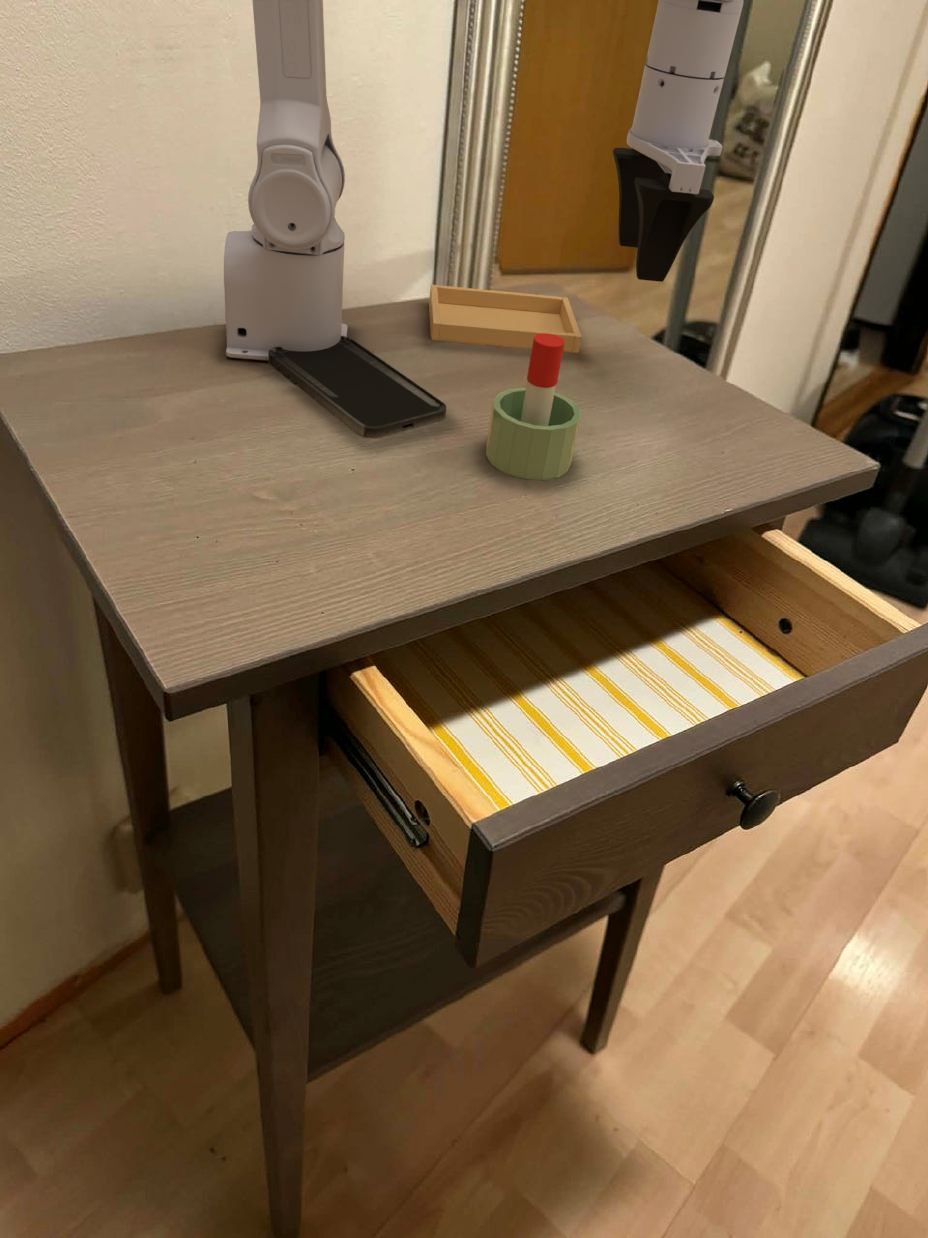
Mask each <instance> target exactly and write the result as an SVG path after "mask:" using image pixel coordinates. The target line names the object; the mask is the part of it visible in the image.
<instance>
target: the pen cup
mask: <svg viewBox="0 0 928 1238" xmlns="http://www.w3.org/2000/svg"><path fill="white" fill-rule="evenodd" d="M525 391H526V386H525V387H524V386H521V387H513V388H508V389H506V390H503V391H501V392H498V393H497V394H496V396H495V397H494V398H493V400H492V404H491V411H490V417H489V424H488V430H487V438H486V445H485V455H486V458H487V461H488V462H489V463H490V464H491V465H492V466H493V467H494V468H495V469H497V470H498V471H499V472H501V473H503V474H506V475H508V476H510V477H513V478H514V477H515V478H517V479H522V480H527V481H528V480H529V481H549V480H553V479H558V478H559V477H562V476H563V475H565V474H566V473H567V472H568V471H569V470H570V467H571V466H572V463H573V456H574V452H575V447H576V443H577V438H578V434H579V429H580V424H581V420H582V413H581V410H580V407H579V406H578V405H577V403H575V402H574V401H573V400H572V399H570V398H569V397H567V396H565V395H563V394H561V393H558V392H556V391H555V393H554V398H553V403H552V408H551V414H550V419H549V424H548V426H540V425H532V424H528V423H525V422H521V415H522V409H523V403H524V397H525Z"/></svg>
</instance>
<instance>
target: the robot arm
mask: <svg viewBox="0 0 928 1238" xmlns="http://www.w3.org/2000/svg"><path fill="white" fill-rule="evenodd" d="M656 6H657V7H656V12H655V16H654V21H653V26H652V31H651V35H650V39H649V40H650V41H649V45H648V48H647V55H646V59H645V64H644V67H643V73H642V78H641V81H640V82H641V83H640V88H639V93H638V97H637V102H636V106H635V112H634V116H633V121H632V126H631V127H630V129H629V130H628V133H627V136H626V144H627V146H629V147H630V148H628V147H614V148H613V150H612V153H613V154H612V155H613V159H614V163H615V167H616V174H617V181H618V193H619V194H618V197H619V198H618V200H619V201H618V206H619V207H618V227H617V228H618V232H617V233H618V244H619V246H620V247H628V248H637V249H636V258H635V259H636V260H635V271H636V272H635V273H636V275H635V276H636V278H637V279H638V280H640V281H649V282H660V283H663V282H664V281H665V279H666V277H667V276H668V274H669V272H670V271H671V268H672V267H673V264H674V262H675V261H676V258H677V256H678V254H679V252H680V250H681V248H682V246H683V244H684V243H685V240H686V239H687V237H688V236H689V234H690V233H691V231H692V230H693V228H694V227H695V225H696V223H698V221H699V220H700V219H701V217H702V216H703V215H704V214H705V213H707V211H708V210H710V208H711V207H712V204H713V202H714V199H715V194H713V193H712V192H711V190H710V189H704V188H703V189H702V188H701V186H702V182H703V179H704V174H705V170H706V167H707V166H706V164H705V161H706V159H707V157H708V156H712V157H713V156H714V157H720V156H721V154H722V150H723V144H721V142H719V141H718V140H716V139H710V135H711V131H712V127H713V123H714V120H715V116H716V112H717V107H718V103H719V101H720V100H719V99H720V96H721V92H722V88H723V84H724V81H725V76H726V74H727V69H728V66H729V61H730V57H731V55H732V54H731V53H732V49H733V45H734V42H735V38H736V34H737V30H738V27H739V22H740V19H741V15H742V11H743V7H744V0H658V2H657V5H656ZM252 11H253V13H252V14H253V24H254V35H255V36H254V38H255V50H256V62H257V63H256V64H257V76H258V77H257V78H258V89H259V101H260V104H259V114H258V125H257V132H256V133H257V135H256V153H257V165H256V170H255V174H254V176H253V179H252V181H251V183H250V186H249V189H248V196H247V205H248V211H249V215H250V218H251V220H252V222H253V224H252V225H251V230H231V231H228V232H227V235H226V238H225V244H224V253H223V289H224V291H223V293H224V308H225V309H224V317H225V331H226V332H225V333H226V349H225V355H226V357H228V358H232V359H245V360H255V361H256V360H257V361H268V362H269V356H268V351H269V350H270V349H272V348H274V347H282V349H284V350H290V351H317V350H322V349H326V348H329V347H332V346H334V345H335V344H337V343H338V342H339V341H340V339H341V336H346V337H348V336H347V335H348V329H349V328H348V324H346V323H343V298H344V297H343V296H344V271H345V269H344V268H345V265H344V263H345V232H344V230H343V229H342V228H341V226H340V225H339V224H338V222H337V220H336V217H335V216H336V208H337V204H338V202H339V200H340V199H341V197H342V195H343V192H344V188H345V182H346V173H345V167H344V164H343V161H342V158H341V156H340V154H339V153H338V151H337V149H336V147H335V143H334V141H333V135H332V134H333V133H332V119H331V113H330V108H329V104H328V103H329V102H328V98H327V96H328V95H327V76H326V50H325V23H324V0H252Z"/></svg>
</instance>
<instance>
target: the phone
mask: <svg viewBox="0 0 928 1238" xmlns="http://www.w3.org/2000/svg"><path fill="white" fill-rule="evenodd" d="M268 356H269V361H268V363H269V364H270V365H271V366H272V367H273V368H275V370H277V371H278V372H280V373H281V374H282V375H283V376H285V378H287V379H288V380H289V381H291V382H292V383H293V384H295V385H296V386H297V387H298V388H299V389H301V390H302V391H303V392H305V393H306V394H307V395H309V396H310V397H311V398H312V399H313V400H315V401H316V402H317V403H319V404H320V405H321V406H322V407H324V408H325V409H326V410H328V411H329V412H330V413H331V414H332V415H333V416H335V417H336V418H338V419H339V420H340V421H341V422H342V423H344V424H345V425H346V426H347V427H349V428H350V429H351V430H353V431H354V432H355V433H356V434H358V435H359V436H361V437H364V438H368V439H378V438H383V437H384V438H385V437H388V436H391V435H395V434H398V433H402V432H405V431H410V430H412V429H416V428H420V427H425V426H428V425H431V424H435V423H438V422H442V421H443V420H445V419H446V415H447V404H445V402H443V401H442V400H440V399H439V398H437V397H436V396H434V395H433V394H432V393H430V392H429V391H428V390H426V389H424V388H423V387H422V386H420V385H419V384H417V383H416V382H415V381H413V380H411V379H410V378H409V377H407V376H406V375H404V374H403V373H401V372H400V371H399V370H397V369H396V368H395V367H393V366H391V365H390V364H389V363H387V362H386V361H384V360H383V359H381V358H380V357H379V356H377V355H376V354H374V353H373V352H371V351H370V350H369V349H367V348H366V347H364V346H363V345H361V344H360V343H358V342H357V341H356V340H354V339H353V338H351V337H349V336H347V337H346V336H341V339H340V341H339V342H338V343H337V344H335V345H334V346H332V347H329V348H326V349H322V350H317V351H290V350H284V349H282V347H274V348H272V349H270V350H269V351H268ZM407 425H410V426H407ZM404 426H406V427H404Z"/></svg>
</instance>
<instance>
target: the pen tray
mask: <svg viewBox="0 0 928 1238" xmlns="http://www.w3.org/2000/svg"><path fill="white" fill-rule="evenodd" d="M429 288H430V289H429V301H428V312H429V330H430V338H431V341H435V342H437V341H438V342H449V343H459V344H460V343H461V344H471V345H483V346H493V347H494V346H495V347H504V348H518V349H528V350H532V345H533V339H534V336H535V335H537V334H542V333H547V334H553V335H557V336H559V337H561V338H562V339H563V340H564V341H565V344H564V349H563V353H573V354H574V353H575V354H579V351H580V347H581V342H582V334H581V331H580V328H579V326H578V322H577V320H576V317H575V314H574V312H573V311H574V310H573V309H572V305H571V303H570V300H569V298H568V297H566V296H556V295H545V294H535V293H524V292H514V291H513V292H512V291H502V290H493V289H492V290H491V289H484V288H483V289H481V288H473V287H472V288H470V287H461V286H449V285H441V284H430V287H429Z"/></svg>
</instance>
